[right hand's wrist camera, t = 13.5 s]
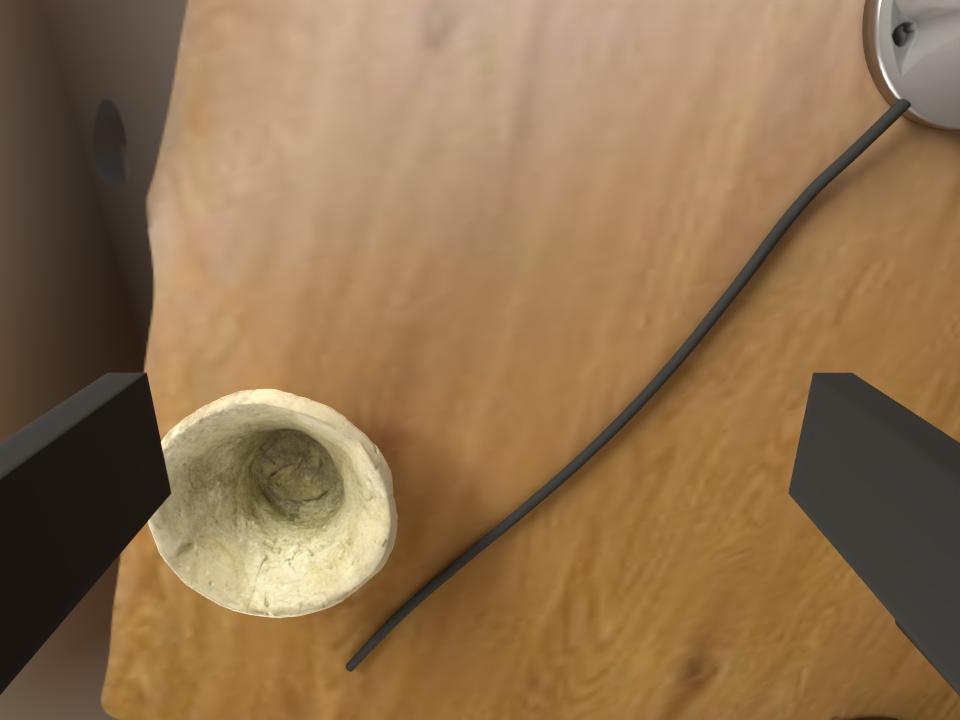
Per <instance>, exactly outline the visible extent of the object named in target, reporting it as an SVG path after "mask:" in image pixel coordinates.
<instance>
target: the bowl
mask: <svg viewBox="0 0 960 720" xmlns="http://www.w3.org/2000/svg"><path fill="white" fill-rule="evenodd" d="M161 444H162V449H163V454H164V459H165V464H166V469H167V474H168V478H169V483H170V488H171V494H170V496H169V497H168V498H167V499H166V500H165V502H164V503H163V504H162V505H161V506H160V507H159V509H158V510H157V511H156V512H155V513H154V514H153V516H152V517H151V518H150V519H149V520H148V523H149V526H150V529H151V532H152V534H153V537H154V540H155V542H156V544H157V547H158V550H159V553H160V554H161V556H162V557H163V559H164V560H165V561H166V562H167V564H168V565H169V566H170V568H171V569H172V570H173V571H174V572H175V573H176V574H177V576H178V577H179V578H180V579H181V580H182V581H183V582H184V583H185V584H186V585H188V586H190V587H191V588H192V589H194V590H195V591H197V592H198V593H200V594H202V595H203V596H205V597H206V598H208V599H210V600H212V601H214V602H216V603H217V604H219V605H221V606H223V607H227V608H229V609H232V610H234V611H238V612H241V613H245V614H250V615H257V616H263V617H274V618H284V617H295V616H301V615H306V614H309V613H313V612H317V611H321V610H324V609H327V608H329V607H332V606H334V605H336V604H338V603H340V602H342V601H343V600H345V599H346V598H347V597H348V596H350V595H351V594H352V593H354V592H355V591H357V590H358V589H359V588H360V587H361V586H362V585H364V584H365V583H366V582H367V581H368V580H369V579H370V578H372V577H373V576H374V575H375V574H377V573H378V572H379V571H380V570H381V569H382V568H383V566H384V565H385V564H386V562H387V560H388V557H389V555H390V553H391V552H392V550H393V547H394V544H395V539H396V535H397V527H398V522H397V520H398V515H397V511H396V503H395V501H396V500H395V499H394V497H393V496H394V494H393V480H392V473H391V470H390V468H389V467H388V464H387V462H386V460H385V459H384V457H383V455H382V453H381V452H380V450H379V449H378V447H377V446H376V445H375V444H374V443H373V442H372V441H371V440H370V439H369V438H368V437H367V436H366V435H365V434H364V433H363V432H362V431H360V430H359V429H358V428H357V427H356V426H354V425H353V424H352V423H351V422H350V421H349V420H348V419H347V418H346V417H345V416H343V415H341V414H340V413H339V412H337V411H336V410H334V409H333V408H331V407H329V406H327V405H324V404H322V403H319V402H316V401H313V400H310V399H308V398H305V397H300V396H297V395H295V394H292V393H287V392H283V391H281V390H276V389H257V390H246V391H239V392H235V393H234V394H230V395H227V396H224V397H222V398H220V399H218V400H216V401H214V402H212V403H210V404H207V405H205V406H204V407H202V408H200V409H198V410H197V411H195V412H194V413H193V414H192V415H190V416H187V417H186V418H184V419H183V420H182V421H181V422H180V423H179V424H177V425H176V426H175V427H174V428H172V429H171V430H170V431H169V432H168V434H167V435H166V436H165V437H164V439H163V440H162V441H161Z"/></svg>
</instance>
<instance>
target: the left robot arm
mask: <svg viewBox="0 0 960 720" xmlns="http://www.w3.org/2000/svg"><path fill="white" fill-rule="evenodd" d="M895 623H896V625H897V626H898V628H899V629H900V630H901V631H902V632H903V633H904V634H905V635H906V636H907V638H908V639H909V640H910V641H911V642H912V643H913V644H914V645H915V647H916V648H917V649H918V650H919V651H920V652H921V653H922V654H923V655H924V657H925V658H926V659H927V660H928V661H929V662H930V663H931V664H932V666H933V667H934V668H935V669H936V670H937V671H938V672H939V673H940V675H941V676H942V677H943V678H944V679H945V680H946V681H947V682H948V680H947V679H946V678H945V677H944V676H943V674H942V673H941V672H940V671H939V670H938V669H937V667H936V666H935V665H934V664H933V663H932V662H931V660H930V659H929V658H928V657H927V656H926V654H925V653H924V652H923V651H922V650H921V649H920V647H919V646H918V645H917V644H916V643H915V642H914V640H913V639H912V638H911V637H910V636H909V634H908V633H907V632H906V631H905V630H904V629H903V627H902V626H901V625H900V624H899V623H898V622H897V620H896V619H895ZM948 683H949V682H948ZM949 685H950V686H951V687H952V688H953V689H954V687H953V686H952V685H951V684H950V683H949ZM954 690H955V689H954ZM955 691H956V690H955ZM956 692H957V691H956ZM957 694H958V695H959V696H960V694H959V693H958V692H957ZM854 720H897V719H891V718H883V717H868V718H859V719H854Z"/></svg>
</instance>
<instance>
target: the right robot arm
mask: <svg viewBox="0 0 960 720" xmlns="http://www.w3.org/2000/svg"><path fill="white" fill-rule="evenodd" d="M863 47H864V53H865V58H866V62H867V65H868V69H869V72H870V74H871V77H872V79H873V81H874V83H875V85H876V87H877V89H878V90H879V92H880V93H881V94H882V96H883V97H884V99H885V100H886V101H887V102H888V103H889V104H890V105H891V106H892V107H891V108H890V109H889V110H888V111H887V112H886V113H885V114H884V115H883V116H882V117H881V118H880V119H879V120H878V121H877V122H876V123H875V124H873V125H872V126H871V127H870V128H869V129H868V130H867V131H866V132H865V133H864V134H863V135H862V136H861V137H860V138H859V139H858V140H857V141H856V142H855V143H854V144H853V145H852V146H851V147H850V148H849V149H848V150H847V151H846V152H844V153H843V154H842V155H841V156H840V157H839V158H838V159H837V160H836V161H835V162H834V163H833V164H831V165H830V166H829V167H828V168H827V169H826V170H825V171H824V172H823V173H822V174H821V175H820V176H818V177H817V178H816V179H815V180H814V181H813V182H812V183H811V184H810V185H809V187H808V188H807V189H806V190H805V191H804V192H803V193H802V194H801V195H800V196H799V197H798V199H797V200H796V201H795V202H794V203H793V204H792V205H791V207H790V208H789V209H788V210H787V211H786V213H785V214H784V215H783V216H782V218H781V219H780V220H779V221H778V223H777V224H776V225H775V226H774V228H773V229H772V230H771V232H770V233H769V234H768V236H767V237H766V238H765V240H764V241H763V242H762V244H761V245H760V246H759V248H758V249H757V251H756V252H755V253H754V255H753V256H752V257H751V259H750V260H749V262H748V263H747V264H746V266H745V267H744V268H743V270H742V271H741V272H740V274H739V275H738V276H737V278H736V279H735V280H734V281H733V283H732V284H731V285H730V287H729V288H728V289H727V290H726V292H725V293H724V294H723V295H722V297H721V298H720V299H719V300H718V302H717V303H716V304H715V305H714V307H713V308H712V309H711V311H710V312H709V313H708V314H707V316H706V317H705V318H704V319H703V321H702V322H701V323H700V324H699V326H698V327H697V328H696V329H695V331H694V332H693V333H692V334H691V336H690V337H689V338H688V339H687V340H686V342H685V343H684V344H683V345H682V347H681V348H680V349H679V350H678V351H677V353H676V354H675V355H674V356H673V357H672V358H671V360H670V361H669V362H668V363H667V364H666V365H665V366H664V368H663V369H662V370H661V371H660V372H659V373H658V374H657V376H656V377H655V378H654V379H653V380H652V381H651V382H650V383H649V384H648V386H647V387H646V388H645V389H644V390H643V391H642V392H641V393H640V394H639V395H638V396H637V398H636V399H635V400H634V401H633V402H632V403H631V404H630V405H629V406H628V407H627V408H626V409H625V410H624V411H623V412H622V413H621V414H620V415H619V416H618V417H617V418H616V419H615V420H614V421H613V422H612V423H611V424H610V425H609V426H608V427H607V428H606V429H605V430H604V431H603V432H602V433H601V434H600V435H599V436H598V437H597V438H596V439H595V440H594V441H593V442H592V443H591V444H590V445H589V446H588V447H587V448H586V449H585V450H584V451H583V452H581V453H580V454H579V455H578V456H577V457H576V458H575V459H574V460H573V461H572V462H571V463H570V464H569V465H567V466H566V467H565V468H564V469H563V470H562V471H561V472H560V473H558V474H557V475H556V476H555V477H554V478H553V479H552V480H550V481H549V482H548V483H547V484H546V485H545V486H544V487H542V488H541V489H540V490H539V491H538V492H537V493H535V494H534V495H533V496H532V497H531V498H530V499H528V500H527V501H526V502H525V503H524V504H523V505H521V506H520V507H519V508H518V509H517V510H516V511H514V512H513V513H512V514H511V515H510V516H509V517H507V518H506V519H505V520H504V521H503V522H501V523H500V524H499V525H498V526H496V527H495V528H494V529H493V530H492V531H490V532H489V533H488V534H487V535H485V536H484V537H483V538H482V539H481V540H479V541H478V542H477V543H476V544H474V545H473V546H472V547H471V548H470V549H468V550H467V551H466V552H465V553H464V554H462V555H461V556H460V557H459V558H458V559H457V560H455V561H454V562H453V563H452V564H451V565H450V566H448V567H447V568H446V569H445V570H444V571H443V572H441V573H440V574H439V575H438V576H437V577H435V578H434V579H433V580H432V581H431V582H430V583H428V584H427V585H426V586H425V587H424V588H423V589H422V590H420V591H419V592H418V593H417V594H416V595H415V596H414V597H412V598H411V599H410V600H409V601H408V602H407V603H406V604H405V605H404V606H403V607H402V608H401V609H400V610H398V611H397V612H396V613H395V614H394V615H393V616H392V617H391V618H390V619H389V620H388V621H387V622H386V623H385V624H384V625H383V626H382V627H381V628H380V629H379V630H378V631H377V632H376V633H375V634H374V635H373V636H372V638H371V639H370V640H369V641H368V642H367V643H366V644H365V645H364V646H363V647H362V648H361V649H360V650H359V651H358V653H357V654H356V655H355V656H354V657H353V658H352V659H351V660H350V661H349V662H348V663H347V664H346V669H347V670H348V671H350V672H351V671H353V670H354V669H355V668H356V667H357V665H358V664H359V663H360V662H361V661H362V660H363V659H364V658H365V657H366V656H367V655H368V654H369V653H370V652H371V651H372V650H373V649H374V648H375V646H376V645H377V644H378V643H379V642H380V641H381V640H382V639H383V638H384V637H385V636H386V635H387V634H388V633H389V632H390V631H391V630H392V629H393V628H394V627H395V626H396V625H397V624H398V623H399V622H400V621H401V620H402V619H403V618H404V617H406V616H407V615H408V614H409V613H410V612H411V611H412V610H413V609H414V608H415V607H416V606H418V605H419V604H420V603H421V602H422V601H423V600H424V599H425V598H427V597H428V596H429V595H430V594H431V593H432V592H434V591H435V590H436V589H437V588H438V587H439V586H441V585H442V584H443V583H444V582H445V581H447V580H448V579H449V578H450V577H451V576H452V575H454V574H455V573H456V572H457V571H458V570H460V569H461V568H462V567H463V566H464V565H465V564H467V563H468V562H469V561H470V560H471V559H473V558H474V557H475V556H476V555H477V554H479V553H480V552H481V551H482V550H484V549H485V548H486V547H487V546H489V545H490V544H491V543H492V542H493V541H495V540H496V539H497V538H498V537H500V536H501V535H502V534H503V533H505V532H506V531H507V530H508V529H509V528H511V527H512V526H513V525H514V524H515V523H517V522H518V521H519V520H520V519H521V518H523V517H524V516H525V515H526V514H527V513H529V512H530V511H531V510H532V509H533V508H534V507H536V506H537V505H538V504H539V503H540V502H541V501H543V500H544V499H545V498H546V497H547V496H548V495H550V494H551V493H552V492H553V491H554V490H555V489H557V488H558V487H559V486H560V485H561V484H562V483H564V482H565V481H566V480H567V479H568V478H569V477H570V476H572V475H573V474H574V473H575V472H576V471H577V470H578V469H579V468H580V467H581V466H583V465H584V464H585V463H586V462H587V461H588V460H589V459H590V458H591V457H592V456H593V455H594V454H595V453H596V452H598V451H599V450H600V449H601V448H602V447H603V446H604V445H605V444H606V443H607V442H608V441H609V440H610V439H611V438H612V437H613V436H614V435H615V434H616V433H617V432H618V431H619V430H620V429H621V428H622V427H623V426H624V425H625V424H626V423H627V422H628V421H629V420H630V419H631V418H632V417H633V416H634V415H635V414H636V413H637V412H638V411H639V410H640V409H641V408H642V407H643V406H644V405H645V404H646V402H647V401H648V400H649V399H650V398H651V397H652V396H653V395H654V394H655V393H656V392H657V391H658V389H659V388H660V387H661V386H662V385H663V384H664V383H665V382H666V381H667V380H668V378H669V377H670V376H671V375H672V374H673V373H674V372H675V371H676V369H677V368H678V367H679V366H680V365H681V364H682V362H683V361H684V360H685V359H686V358H687V357H688V355H689V354H690V353H691V352H692V351H693V349H694V348H695V347H696V346H697V345H698V343H699V342H700V341H701V340H702V339H703V337H704V336H705V335H706V334H707V332H708V331H709V330H710V329H711V327H712V326H713V325H714V324H715V322H716V321H717V320H718V319H719V317H720V316H721V315H722V314H723V312H724V311H725V310H726V309H727V307H728V306H729V305H730V304H731V302H732V301H733V300H734V299H735V297H736V296H737V295H738V294H739V292H740V291H741V290H742V289H743V287H744V286H745V285H746V284H747V282H748V281H749V280H750V278H751V277H752V276H753V274H754V273H755V272H756V270H757V269H758V268H759V266H760V265H761V264H762V262H763V261H764V260H765V258H766V257H767V255H768V254H769V253H770V251H771V250H772V249H773V247H774V246H775V245H776V243H777V242H778V241H779V239H780V238H781V237H782V235H783V234H784V233H785V232H786V230H787V229H788V228H789V227H790V225H791V224H792V223H793V222H794V220H795V219H796V218H797V217H798V216H799V215H800V213H801V212H802V211H803V210H804V209H805V208H806V207H807V205H808V204H809V203H810V202H811V201H812V200H813V199H814V198H815V197H816V196H817V195H818V194H819V192H820V191H821V190H822V189H823V188H825V187H826V186H827V185H828V184H829V183H830V182H831V181H832V180H833V179H834V178H835V177H836V176H837V175H839V174H840V173H841V172H842V171H843V170H844V169H845V168H846V167H847V166H849V165H850V164H851V163H852V162H853V161H854V160H855V159H856V158H857V157H858V156H859V155H860V154H862V153H863V152H864V151H865V150H866V149H867V148H868V147H869V146H870V145H871V144H872V143H873V142H874V141H875V140H876V139H877V138H878V137H879V136H880V135H881V134H882V133H883V132H884V131H886V130H887V129H888V128H889V127H890V126H891V125H892V124H893V123H894V122H895V121H896V120H897V119H898V118H899V117H900V116H901V115H903V116H905V117H906V118H908V119H910V120H912V121H914V122H916V123H919V124H921V125H924V126H927V127H932V128H936V129H945V130H960V0H866V1H865V6H864V15H863ZM170 494H171V488H170V483H169V478H168V474H167V469H166V464H165V459H164V454H163V449H162V444H161V440H160V435H159V430H158V425H157V420H156V415H155V410H154V406H153V401H152V396H151V391H150V386H149V381H148V376H147V373H107V374H105V375H104V376H102V377H101V378H99V379H98V380H96V381H95V382H93V383H92V384H90V385H88V386H87V387H85V388H84V389H82V390H81V391H79V392H78V393H76V394H75V395H73V396H72V397H70V398H69V399H67V400H65V401H64V402H62V403H61V404H59V405H58V406H56V407H55V408H53V409H52V410H50V411H49V412H47V413H46V414H44V415H42V416H41V417H39V418H38V419H36V420H35V421H33V422H32V423H30V424H29V425H27V426H26V427H24V428H23V429H21V430H19V431H18V432H16V433H15V434H13V435H12V436H10V437H9V438H7V439H6V440H4V441H3V442H1V443H0V694H1V693H2V692H3V691H4V690H5V689H6V687H7V686H8V685H9V684H10V683H11V682H12V680H13V679H14V678H15V677H16V676H17V674H18V673H19V672H20V671H21V670H22V669H23V667H24V666H25V665H26V664H27V663H28V662H29V660H30V659H31V658H32V657H33V656H34V654H35V653H36V652H37V651H38V650H39V649H40V647H41V646H42V645H43V644H44V643H45V641H46V640H47V639H48V638H49V637H50V636H51V634H52V633H53V632H54V631H55V630H56V629H57V627H58V626H59V625H60V624H61V623H62V622H63V620H64V619H65V618H66V617H67V616H68V614H69V613H70V612H71V611H72V610H73V609H74V607H75V606H76V605H77V604H78V603H79V602H80V600H81V599H82V598H83V597H84V596H85V594H86V593H87V592H88V591H89V590H90V589H91V587H92V586H93V585H94V584H95V583H96V582H97V580H98V579H99V578H100V577H101V576H102V574H103V573H104V572H105V571H106V570H107V569H108V567H109V566H110V565H111V564H112V563H113V562H114V560H115V559H116V558H117V557H118V556H119V554H120V553H121V552H122V551H123V550H124V549H125V547H126V546H127V545H128V544H129V543H130V542H131V540H132V539H133V538H134V537H135V536H136V534H137V533H138V532H139V531H140V530H141V529H142V527H143V526H144V525H145V524H146V523H147V522H148V520H149V519H150V518H151V517H152V516H153V514H154V513H155V512H156V511H157V510H158V509H159V507H160V506H161V505H162V504H163V503H164V502H165V500H166V499H167V498H168V497H169V496H170ZM789 494H790V496H791V497H792V498H793V499H794V500H795V502H796V503H797V504H798V505H799V506H800V507H801V509H802V510H803V511H804V512H805V513H806V514H807V516H808V517H809V518H810V519H811V520H812V522H813V523H814V524H815V525H816V526H817V527H818V529H819V530H820V531H821V532H822V533H823V534H824V536H825V537H826V538H827V539H828V540H829V542H830V543H831V544H832V545H833V546H834V547H835V549H836V550H837V551H838V552H839V553H840V554H841V556H842V557H843V558H844V559H845V560H846V562H847V563H848V564H849V565H850V566H851V567H852V569H853V570H854V571H855V572H856V573H857V574H858V576H859V577H860V578H861V579H862V580H863V582H864V583H865V584H866V585H867V586H868V587H869V589H870V590H871V591H872V592H873V593H874V594H875V596H876V597H877V598H878V599H879V600H880V602H881V603H882V604H883V605H884V606H885V607H886V609H887V610H888V611H889V612H890V613H891V614H892V616H893V617H894V618H895V619H896V620H897V622H898V623H899V624H900V625H901V626H902V627H903V629H904V630H905V631H906V632H907V633H908V634H909V636H910V637H911V638H912V639H913V640H914V642H915V643H916V644H917V645H918V646H919V647H920V649H921V650H922V651H923V652H924V653H925V654H926V656H927V657H928V658H929V659H930V660H931V662H932V663H933V664H934V665H935V666H936V667H937V669H938V670H939V671H940V672H941V673H942V674H943V676H944V677H945V678H946V679H947V680H948V682H949V683H950V684H951V685H952V686H953V687H954V689H955V690H956V691H957V692H958V693H959V694H960V443H959V442H957V441H956V440H954V439H953V438H951V437H950V436H948V435H947V434H945V433H944V432H942V431H941V430H939V429H937V428H936V427H934V426H933V425H931V424H930V423H928V422H927V421H925V420H924V419H922V418H921V417H919V416H918V415H916V414H914V413H913V412H911V411H910V410H908V409H907V408H905V407H904V406H902V405H901V404H899V403H898V402H896V401H895V400H893V399H891V398H890V397H888V396H887V395H885V394H884V393H882V392H881V391H879V390H878V389H876V388H875V387H873V386H872V385H870V384H868V383H867V382H865V381H864V380H862V379H861V378H859V377H858V376H856V375H855V374H853V373H813V376H812V381H811V386H810V391H809V396H808V401H807V406H806V410H805V415H804V420H803V425H802V430H801V435H800V440H799V444H798V449H797V454H796V459H795V464H794V469H793V474H792V478H791V483H790V488H789Z"/></svg>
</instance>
